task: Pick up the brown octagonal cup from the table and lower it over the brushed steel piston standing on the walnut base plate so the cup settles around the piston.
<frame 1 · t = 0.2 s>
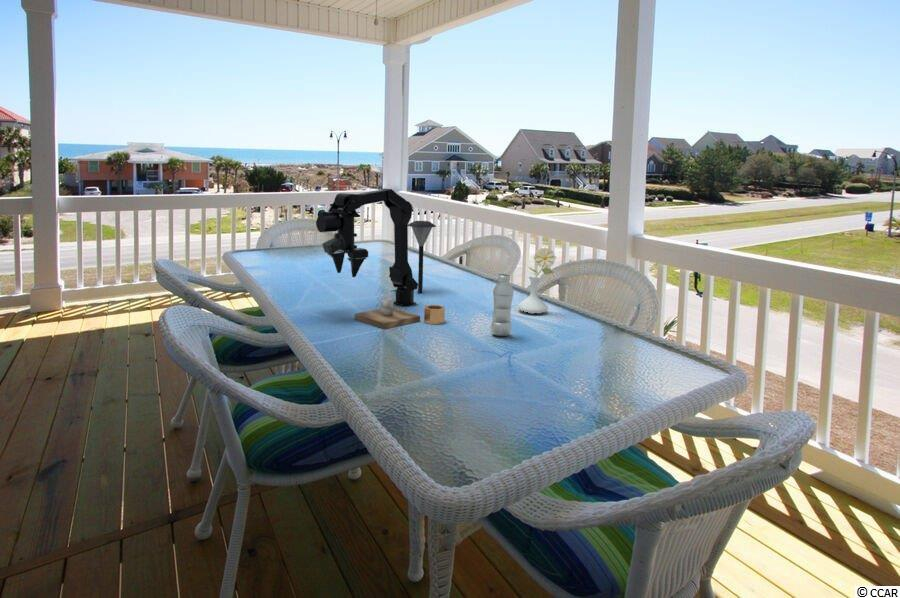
hand: (346, 275, 212), 15 cm above the table, fingers open, 9 cm apart
brown octagonal cup: (434, 321, 211), on the table
plastic bottle: (500, 336, 196), on the table
solar garden light: (420, 293, 255), on the table
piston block: (387, 320, 210), on the table
flower in vase: (534, 312, 228), on the table
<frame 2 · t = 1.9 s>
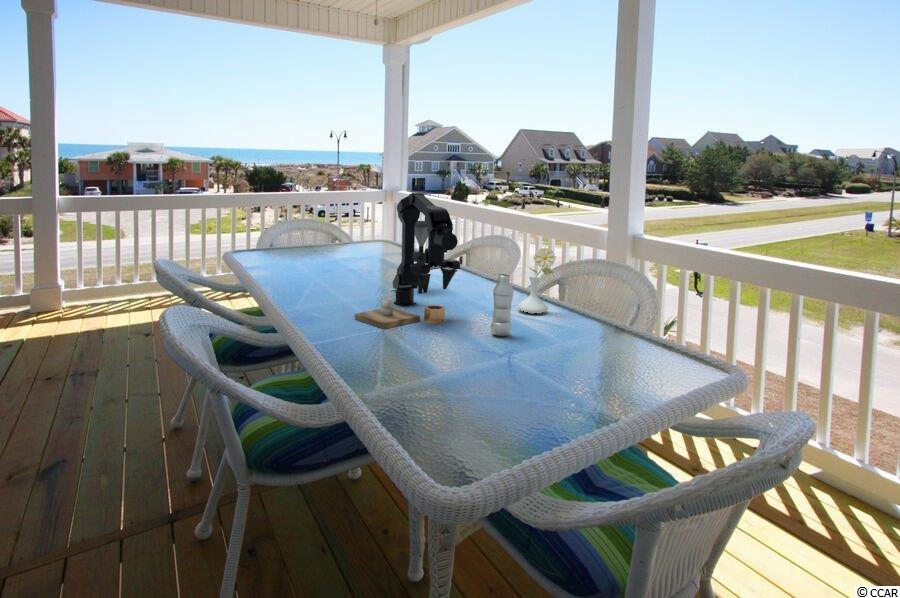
hand: (435, 291, 208), 11 cm above the table, fingers open, 9 cm apart
nothing on the table moved.
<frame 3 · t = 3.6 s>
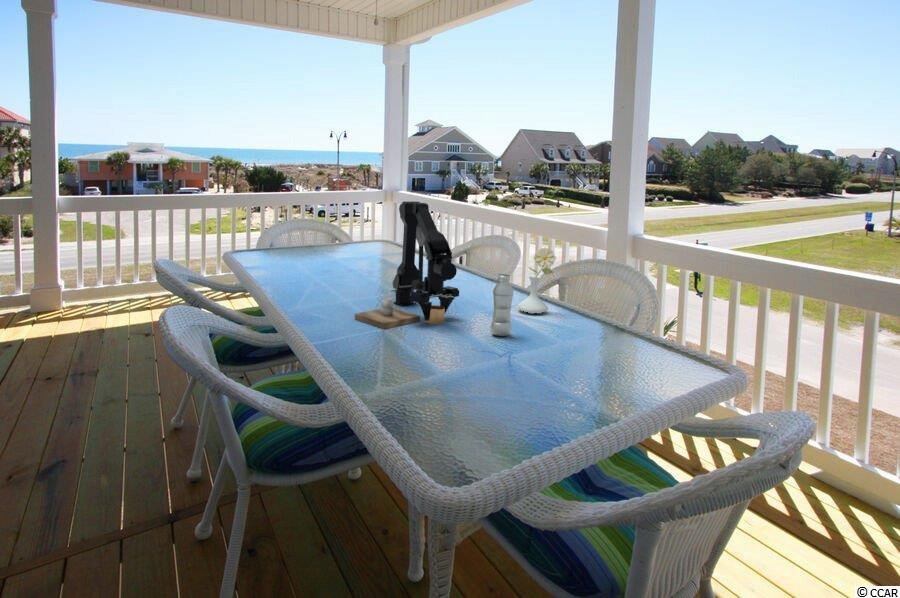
hand: (434, 318, 210), 1 cm above the table, fingers closed on brown octagonal cup, 7 cm apart
brown octagonal cup: (434, 321, 211), on the table, touching gripper
everything else where it was.
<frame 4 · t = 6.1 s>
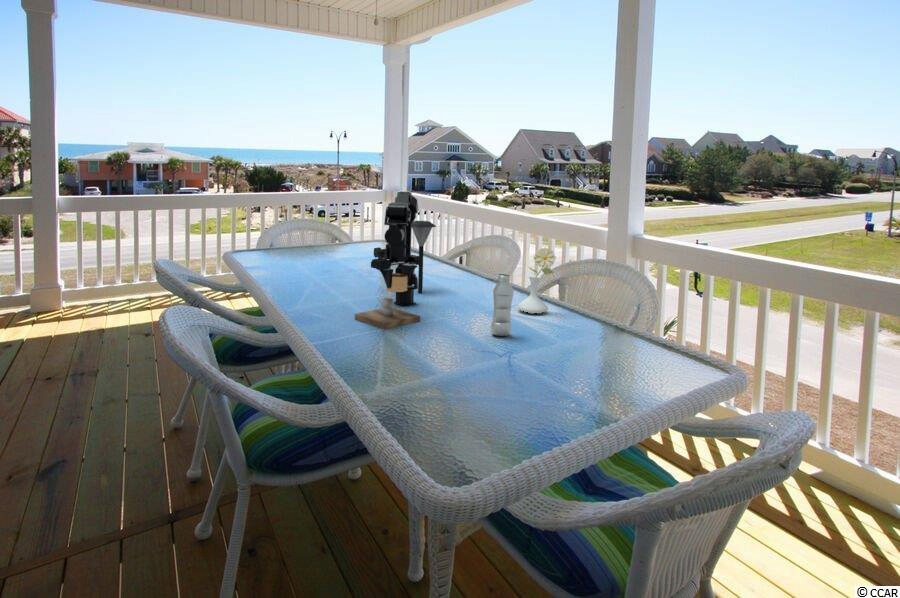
hand: (396, 286, 207), 12 cm above the table, fingers closed on brown octagonal cup, 7 cm apart
brown octagonal cup: (396, 289, 207), point 11 cm above the table, touching gripper
everything else where it was.
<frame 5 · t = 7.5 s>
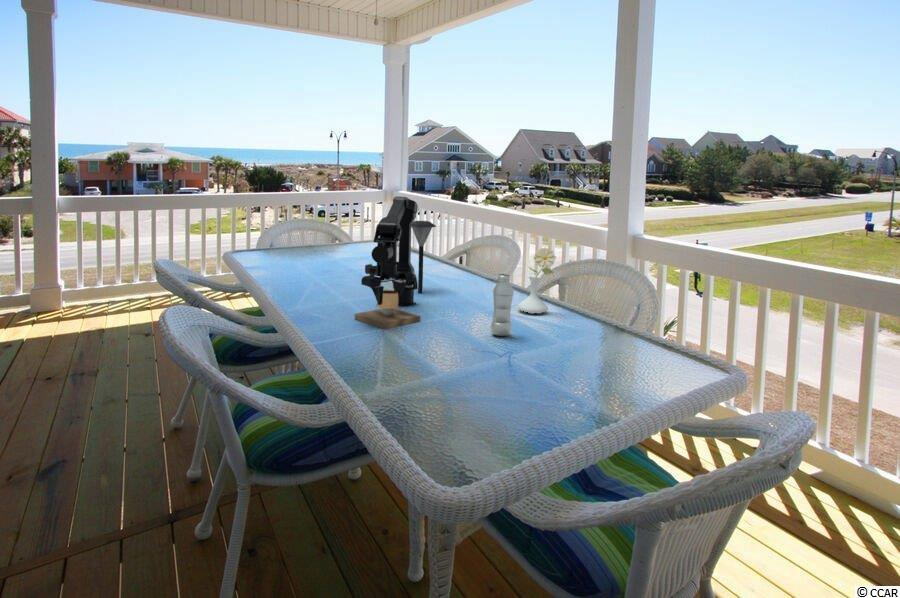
hand: (387, 303, 208), 6 cm above the table, fingers closed on brown octagonal cup, 7 cm apart
brown octagonal cup: (387, 306, 209), point 5 cm above the table, touching gripper
everything else where it was.
when the fingers open (4 cm above the table, at t = 8.5 s): brown octagonal cup stays where it is, resting on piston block.
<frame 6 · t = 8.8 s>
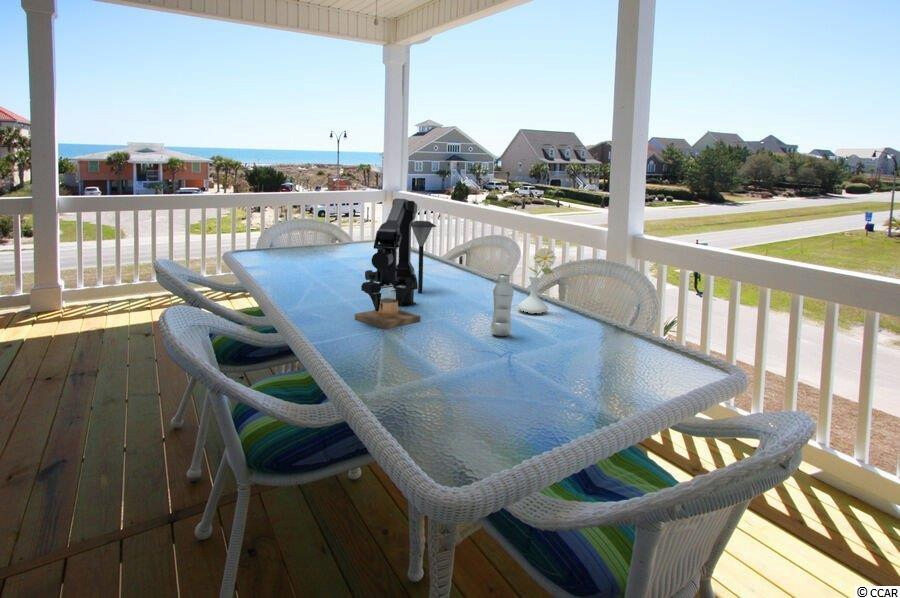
hand: (387, 309, 209), 4 cm above the table, fingers open, 9 cm apart
brown octagonal cup: (387, 314, 209), point 2 cm above the table, touching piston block
everything else where it was.
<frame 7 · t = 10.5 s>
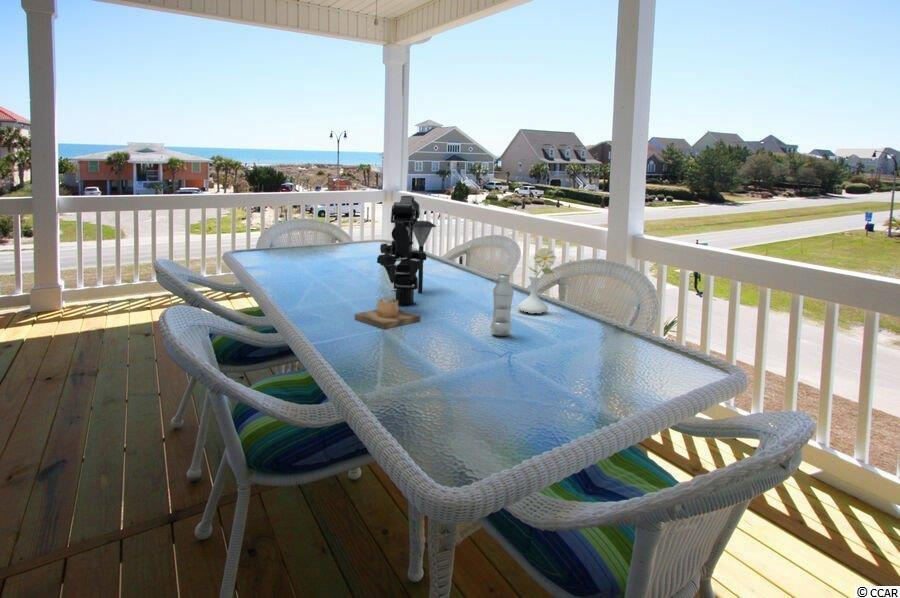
hand: (402, 281, 218), 12 cm above the table, fingers open, 9 cm apart
nothing on the table moved.
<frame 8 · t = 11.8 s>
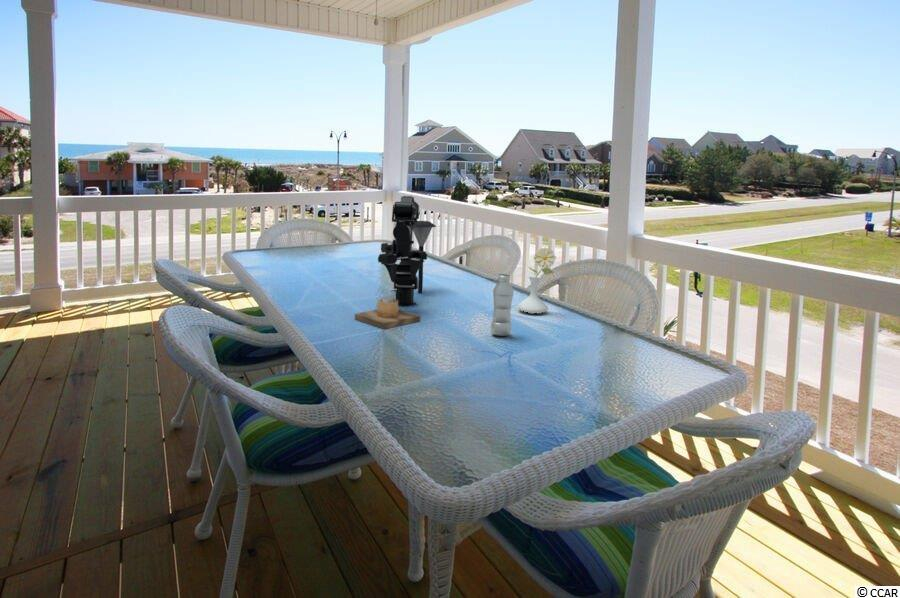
hand: (402, 280, 218), 12 cm above the table, fingers open, 9 cm apart
nothing on the table moved.
at the end: brown octagonal cup 0.1 cm from the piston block (horizontally); brown octagonal cup point 2.0 cm above the table; the gripper is holding nothing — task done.
